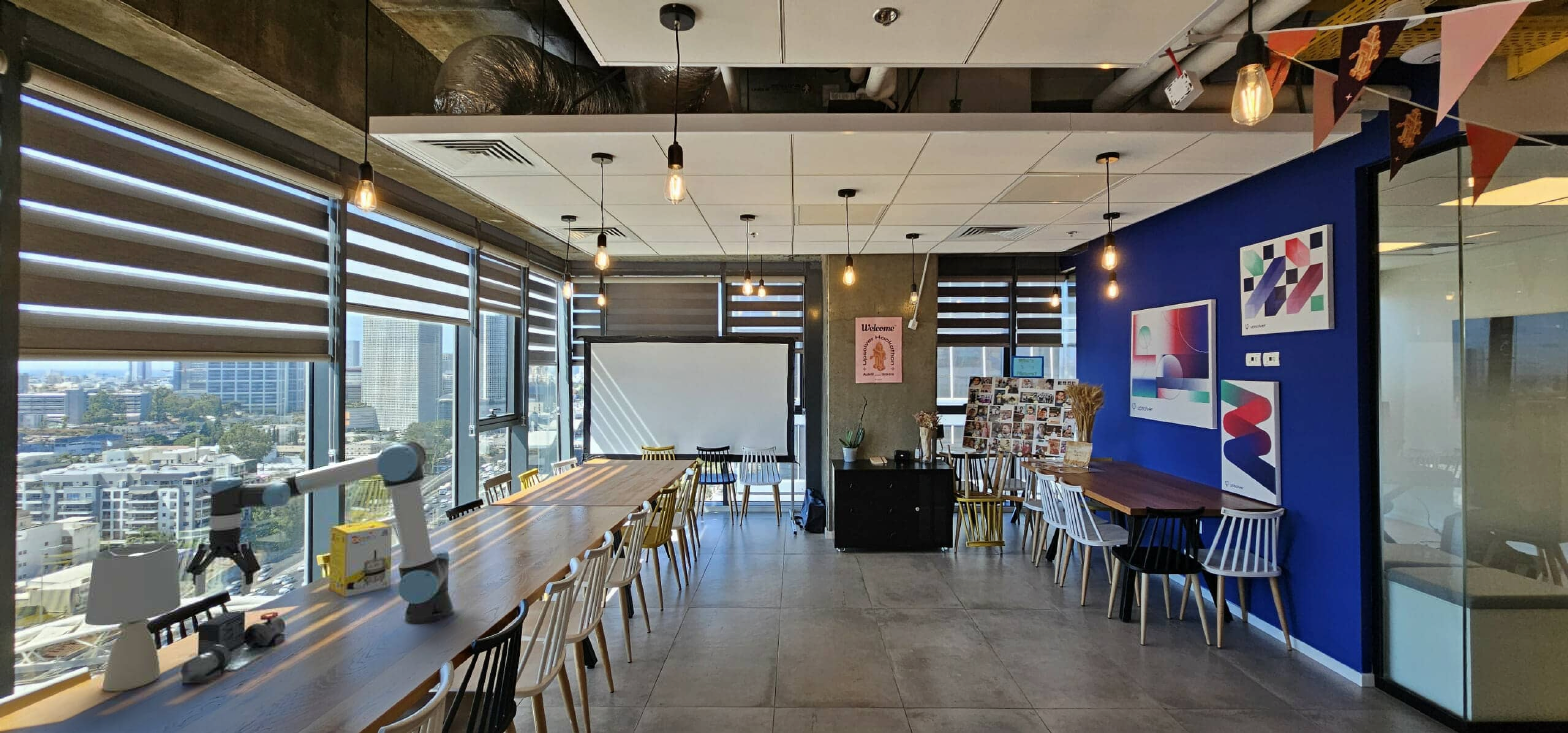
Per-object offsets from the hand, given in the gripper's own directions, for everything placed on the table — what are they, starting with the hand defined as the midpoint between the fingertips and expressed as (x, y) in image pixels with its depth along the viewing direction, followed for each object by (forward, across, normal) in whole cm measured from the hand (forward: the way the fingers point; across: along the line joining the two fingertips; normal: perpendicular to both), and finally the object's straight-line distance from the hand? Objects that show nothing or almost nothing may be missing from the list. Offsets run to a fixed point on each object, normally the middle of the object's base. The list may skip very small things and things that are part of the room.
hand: (222, 595), depth 195 cm
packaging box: (+18, -7, -59) cm, 62 cm away
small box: (+18, 0, 0) cm, 18 cm away
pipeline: (+17, -10, +7) cm, 21 cm away
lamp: (+18, +8, +20) cm, 28 cm away
